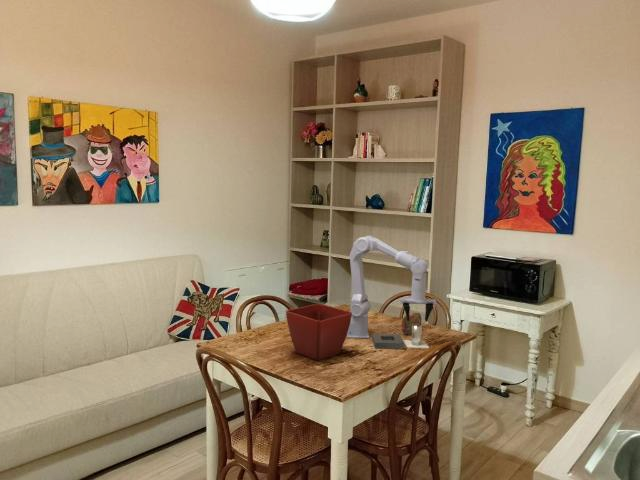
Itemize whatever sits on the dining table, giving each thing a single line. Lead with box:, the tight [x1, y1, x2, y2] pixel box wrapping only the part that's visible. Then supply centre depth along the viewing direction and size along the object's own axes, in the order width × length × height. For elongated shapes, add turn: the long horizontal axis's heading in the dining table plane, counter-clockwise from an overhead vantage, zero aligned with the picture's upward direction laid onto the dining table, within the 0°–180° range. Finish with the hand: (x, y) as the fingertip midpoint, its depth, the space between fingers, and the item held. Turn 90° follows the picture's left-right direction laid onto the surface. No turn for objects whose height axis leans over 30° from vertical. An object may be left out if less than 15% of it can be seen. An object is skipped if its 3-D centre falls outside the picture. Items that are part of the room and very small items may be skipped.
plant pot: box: [285, 303, 352, 361], centre depth 202 cm, size 19×19×17 cm
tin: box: [401, 312, 422, 336], centre depth 234 cm, size 15×3×8 cm, turn 143°
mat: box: [403, 339, 430, 349], centre depth 216 cm, size 9×9×1 cm
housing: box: [371, 333, 405, 350], centre depth 216 cm, size 12×12×2 cm
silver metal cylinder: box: [411, 324, 423, 346], centre depth 215 cm, size 4×4×8 cm
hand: (417, 320), depth 215 cm, fingers open, 7 cm apart
